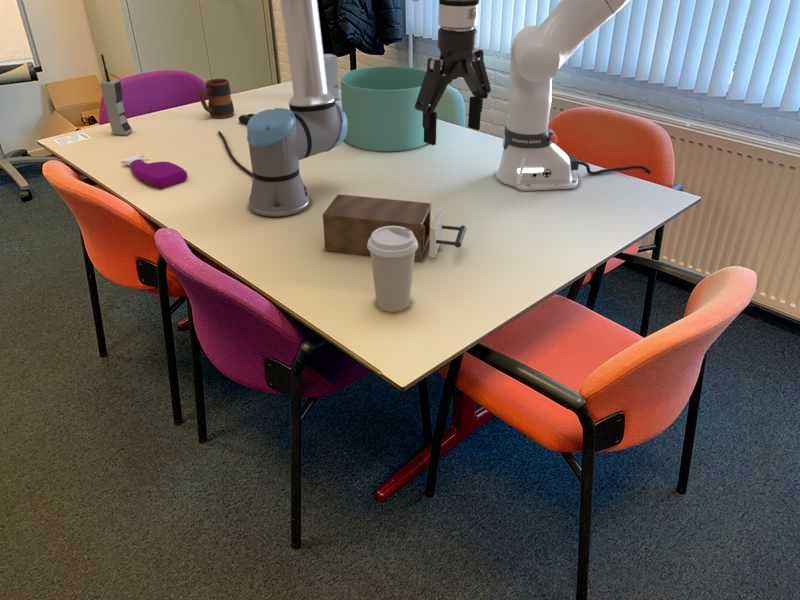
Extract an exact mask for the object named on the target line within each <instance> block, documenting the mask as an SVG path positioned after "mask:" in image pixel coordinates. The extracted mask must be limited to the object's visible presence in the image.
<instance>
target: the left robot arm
mask: <svg viewBox="0 0 800 600" xmlns="http://www.w3.org/2000/svg"><path fill="white" fill-rule="evenodd" d="M279 1H280V8H281V14H282V23H283V29H284V36H285V43H286V49H287V50H286V51H287V56H288V64H289V70H290V78H291V84H292V91H293V95H292V97H291V98H290V99H289V100H288V107H289V108H282V107H276V108H273V109H270V108H269V109H265V110H262V111H259V112H257V113H254V114H255V115H254V116H252V117H251V118H250V119H249V121H248V124H246V141H247V143H248V149H249V157H250V165H251V171H250V170H249V169H247V168H246V167H245V166H243V165H242V164H241V163H240V162H239V161H238V160H237V159H236V158H235V156H234V155H233V154H232V152H231V150H230V147H229V145H228V142H227V140H226V138H225V136H224V135H223V134H222V132H221V131H220V130H218V131H217V133H218V135H219V137H220V138H221V140H222V141H223V143H224V146H225V149H226V151H227V153H228V156H229V157H230V158H231V160H232V161H233V162H234V164H236V165H237V166H238V167H239V168H240V169H241V170H243V171H244V172H246V173H247V175H249V176H250V177H252V183H251V189H250V195H249V197H248V205H249V209H250V211H252V213H254V214H256V215H258V216H263V217H268V218H283V217H289V216H293V215H296V214H299V213H301V212H303V211H305V210H306V209H307V208H308V207H309V206H310V196H309V193H308V188H307V187H306V185H305V183H304V181H303V179H302V177H301V173H300V163H299V161H301V160H304V159H307V158H310V157H313V156H316V155H319V154H322V153H327V152H329V151H331V150H333V149H334V148H337V147H339V146H340V145H341V144H342V143H343V142H344V141H345V140H344V139H345V136H346V133H347V118H346V115H345V112H342V111H343V109H342V105H340V104H339V103H338V102H336V99H335V97H334V96H333V95H332V94H330V93H329V92H328V87H327V79H326V70H325V62H324V54H325V53H324V45H323V37H322V29H321V20H320V12H319V4H318V3H319V2H318V0H279ZM479 4H480V0H438V17H437V24H438V26H439V28H438V29H437V48H438V50H439V51H440V54H439V58H433V57H429V58H428V59H427V64H426V70H425V71H426V74H425V77H424V80H423V83H422V86H421V89H420V92H419V95H418V98H417V101H416V104H415V109H416V110H420V111H422V112H423V124H422V126H423V128H424V142H425V143H427V145H428V144H429V145H430V146H435V145H437V121H438V120H437V119H438V112H436V111H435V110H436V108H437V106H438V104H439V102H440V101H441V98H442V96H443V95H444V93H445V91H446V89H447V87H448V86H449V85H450V84H451V83H452V82H453V80H457V79H459V78H462V79H463V80H464V82H465V84H466V85H467V87H468V89H469V90H470V92H471V94H472V96H469V102H468V103H469V105H468V118H467V119H468V121H467V128H469V129H471V130H472V129H473V130H475V131H480V129H481V119H482V118H481V117H482V111H483V106H484V105H483V104H484V99H485V100H486V99H488V96H489V93H491V91H492V88H491V83H490V80H489V76H488V72H487V69H486V64H485V62H484V61H485V60H484V54H485V53H484V49H480V48H477V40H478V30H477V28H476V27H477V26H478V23H479V22H478V19H479ZM429 104H430V106H429Z"/></svg>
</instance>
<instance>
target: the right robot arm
mask: <svg viewBox="0 0 800 600" xmlns="http://www.w3.org/2000/svg"><path fill="white" fill-rule="evenodd" d="M411 1H412V2H419V1H420V0H411ZM629 1H630V0H560V1H559V2H558V3H557V5H556V6H555V8H554V9H553V10H552V11H551V12H550V14H548V16H546V18H545V19H544V20H543V21H542V23H541V24H540V25H528V26H525V27H523V28H522V29H520V30H519V31H518V32H517V33H516V35H515V36H514V38H513V40H512V43H511V48H510V64H509V65H510V67H509V87H508V89H509V90H508V103H507V104H508V106H507V114H506V115H507V117H506V125H505V127H504V131H503V135H502V136H503V137H502V148H503V149H502V151H503V152H502V154H501V159H500V162H499V167H498V169H497V172H496V175H495V177H496V180H498V181H499V182H501V183H502V184H504V185H507V186H511V187H515V189H517V190H519V191H522V192H529V191H530V192H531V191H550V190H551V191H552V190H572V189H576V188H577V186H578V184H579V178H578V175H577V173H576V171H578V170H579V168H580V167H579V166H584V167H585V168H586V172H587V174H589V175H591V176H595V175H601V174H603V173H611V172H619V171H620V172H621V171H629V170H635V169H640V170H643V171H645V172H646V173H648V174H649V173H650V174H651V173H652V171H651V169H649V167H647V166H645V165H641V164H634V165H627V166H618V167H610V168H603V169H599V170H596V171H592V170H591V167H590V165H589V164H588V163H587V162H585V161H583V160H582V161H581V160H579V159H578V158H577V157H576V156H575V155H574V154H567V153H566V152H565V151H564V150H563V149H561V148H560V147H559V146H558V145H557V143H558V141H559V138H558V135H557V134H555V131H554V130H553V129H552V127H551V128H549V122H550V114H551V107H552V83H553V82H552V81H553V78H554V77H555V75H556V74H557V73H558V71H559V70H560V68H561V67H562V66H564V64H566V62H567V61H568V60H569V59H570V58H571V57H572V56H573V55H574V53H575V52H576V51H577V50H578V49H579V47H580V46H581V45H582V44H583V43H584V42H585V41H586V40H587V39H588V38H590V36H591V35H593V34H594V33H595V32H596V31H598V29H599V28H600V27H602V26H603V25H604V24H605V23H607V22H608V21H609V20H610V19H611V18H613V16H614V15H616V14H617V13H618V12H619V11H620V10H621V9H622V8H623V7H624V6H626V4H627V3H628V2H629Z"/></svg>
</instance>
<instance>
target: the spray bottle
mask: <svg viewBox="0 0 800 600" xmlns="http://www.w3.org/2000/svg"><path fill="white" fill-rule="evenodd" d="M145 161H149V163H147V162H145ZM120 163H121V166H129V167H130V169H131V172H132V173H133V175H134V176H135V177H136V178H137V179H139V180H141V181H142V182H143V183H145V184H148V185H150V186H153V187H156V188H160V189H163V188H166V187H169V186H173V185H176V184H178V183H182V182H184V181H186V180H187V178H188V172H187V171H186V170H185V169H184V168H183V167H181V166H180V165H177V164H175V163H174V162H170V161H154V162H150V158H146V157H145V154H144V153H142V154H136V155H133V156H129V157H127V158H124V159H121V160H120Z"/></svg>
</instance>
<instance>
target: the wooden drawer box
mask: <svg viewBox="0 0 800 600" xmlns="http://www.w3.org/2000/svg"><path fill="white" fill-rule="evenodd" d="M429 211H430V212H432V203H431V202H421V201H414V200H413V201H412V200H400V199H390V198H381V197H371V196H370V197H369V196H360V195H350V194H349V195H348V194H340V193H338V194H337V195H336V196H335V198H334V199H333V200H332V201H331V202H330V204H329V206H328V207H327V208H326V210H325V211H324V212H323V213H322V223H323V225H322V226H323V237H324V238H323V239H324V251H325V252H333V253H342V254H351V255H358V256H368V257H371V254H370V251H369V250H368V248H367V243H368V240H369V238H370V237H371V234H372V233H373V231H375V230H376V229H378V228H381V227H385V226H401V227H405V228H407V229H409V230H411V231H412V232H413V234H414V236H415V238H416V240H417V242H418V248H417V250H416V251H415V257H414V262H422V260H423V257H424V254H425V253H426V250H427V247H428V246H429V245H428V244H429V243H430V237H429V240H428V242H427V245H426V247H425V250H424V252H423V253H422V226H423V224H424V221H425V219H426V217H427V215H428V212H429Z"/></svg>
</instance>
